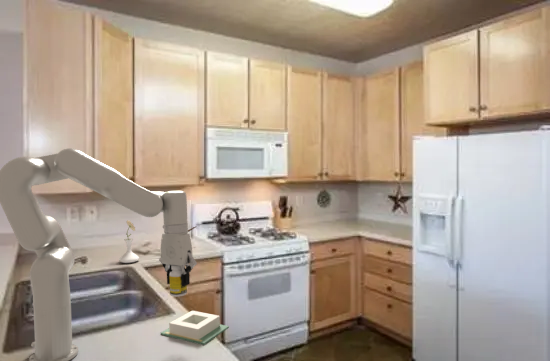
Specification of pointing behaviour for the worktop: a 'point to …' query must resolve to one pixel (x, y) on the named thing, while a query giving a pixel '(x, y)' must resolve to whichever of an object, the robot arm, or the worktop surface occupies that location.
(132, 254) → the flower in vase
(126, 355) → the worktop surface
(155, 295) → the worktop surface
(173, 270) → the supplement bottle
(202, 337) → the board
